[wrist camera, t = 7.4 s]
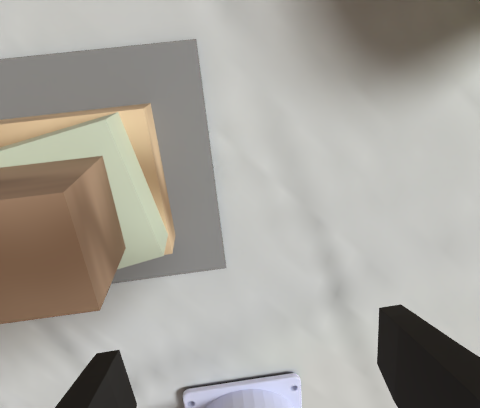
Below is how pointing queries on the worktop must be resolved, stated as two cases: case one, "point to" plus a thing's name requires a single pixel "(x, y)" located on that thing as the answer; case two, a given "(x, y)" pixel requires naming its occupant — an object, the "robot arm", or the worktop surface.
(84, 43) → the worktop surface
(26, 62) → the mat
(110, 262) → the walnut block
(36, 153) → the sage slab
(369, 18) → the worktop surface
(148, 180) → the oak slab
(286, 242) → the worktop surface
